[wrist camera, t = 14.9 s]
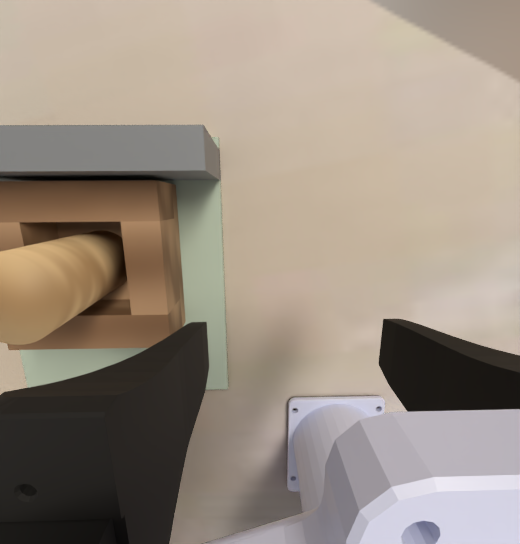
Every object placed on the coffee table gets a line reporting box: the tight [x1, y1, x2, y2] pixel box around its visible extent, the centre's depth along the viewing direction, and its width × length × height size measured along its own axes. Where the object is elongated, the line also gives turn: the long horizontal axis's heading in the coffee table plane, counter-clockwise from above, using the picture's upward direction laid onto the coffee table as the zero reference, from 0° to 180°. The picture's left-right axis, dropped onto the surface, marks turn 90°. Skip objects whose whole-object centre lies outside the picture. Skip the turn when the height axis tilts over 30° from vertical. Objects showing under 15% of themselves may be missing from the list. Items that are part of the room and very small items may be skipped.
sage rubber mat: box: [20, 137, 228, 390], centre depth 21 cm, size 19×16×1 cm
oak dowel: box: [0, 230, 127, 345], centre depth 16 cm, size 4×4×8 cm
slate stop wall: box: [0, 125, 221, 181], centre depth 17 cm, size 2×16×6 cm, turn 90°
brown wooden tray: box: [0, 180, 186, 350], centre depth 19 cm, size 10×10×4 cm
